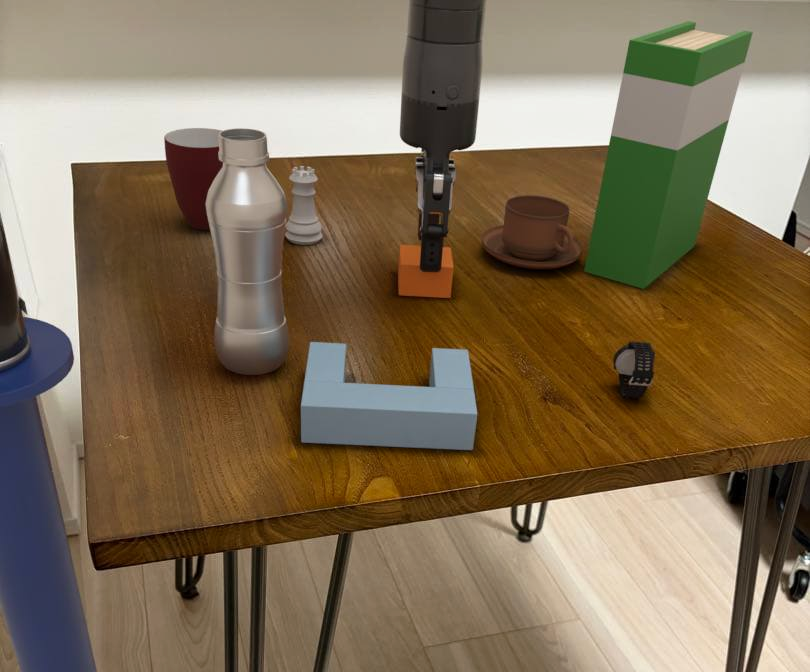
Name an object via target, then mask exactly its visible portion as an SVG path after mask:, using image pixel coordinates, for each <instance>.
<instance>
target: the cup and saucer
mask: <svg viewBox="0 0 810 672" xmlns="http://www.w3.org/2000/svg"><path fill="white" fill-rule="evenodd" d="M570 210H571V209H570V207H569V205H567V204H566V203H564V202H563V201H561V200H559V199H555V198H552V197H548V196H542V195H532V194H531V195H527V194H526V195H517V196H513V197H510V198H508V199H507V200H506V202H505V208H504V217H503V224H502V225H497V226H493V227H490V228H488V229H487V230H485V231H484V232H483V233H482V234H481V245H482V247H483V248H484V249H485V251H486V252H487V254H488V255H490V256H491V257H493V258H494V259H496V260H498V261H499V262H502V263H505V264H508V265H510V266H514V267H518V268H522V269H530V270H553V269H559V268H563V267H566V266H568V265H569V266H570V265H571V264H573V263H575V261H577V260H579V259H580V258H581V256H582V254H583V251H584V245H583V244H582V243H581V241H580V240H579V239H578V238H577V237H575V236H574V235H573V232H572V231H571V229H570V228H569V227H568V222H569V215H570Z"/></svg>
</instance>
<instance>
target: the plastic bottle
mask: <svg viewBox="0 0 810 672" xmlns="http://www.w3.org/2000/svg"><path fill="white" fill-rule="evenodd" d="M218 139H219V152H218V155H219V160H220V161H222V162H223V167H222V168H221V170H220V171H219V173H218V174H217V176H216V177H215V179H214V181H213V183H212V185H211V187H210V189H209V191H208V194H207V199H206V203H205V204H206V212H207V217H208V222H209V227H210V230H209V231H210V236H211V240H212V245H213V253H214V261H215V268H216V278H217V279H216V280H217V300H216V302H217V303H216V306H217V307H216V318H215V324H214V333H213V344H214V348H215V353H216V356H217V359H218V360H219V362H220V363H221V364H222V366H224V368H225V369H226V370H228V371H229V372H232V373H235V374H239V375H246V376H257V375H258V376H259V375H264V374H268V373H272V372H275V371H276V370H277V369H279V368H280V367H281V366H282V365H283V363H284V362H285V361H286V359H287V357H288V354H289V347H290V332H289V327H288V323H287V318H286V316H285V304H284V296H283V284H282V272H283V271H282V266H283V247H284V241H285V240H284V239H285V233H286V227H285V226H286V223H287V216H288V201H287V198H286V194H285V192H284V190H283V188H282V187H281V185H280V183H279V182H278V180H277V179H276V178H275V176H274V175H273V173H272V172H271V171H270V170H269V168H268V167H267V163H268V162H269V161H270V152H269V151H268V150H269V149H268V137H267V134H266V133H265V132H264V131H261V130H259V129H254V128H245V127H244V128H242V127H241V128H240V127H239V128H229V129H224V130H221V132H220V133H219V137H218Z"/></svg>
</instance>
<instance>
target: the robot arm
mask: <svg viewBox="0 0 810 672" xmlns="http://www.w3.org/2000/svg"><path fill="white" fill-rule="evenodd" d="M486 5H487V0H408V8H407V9H408V10H407V27H406V28H407V29H406V30H407V31H406V32H407V33H406V34H407V35H406V41H405V42H406V43H405V49H404V54H403V61H402V79H401V95H400V97H401V99H400V100H401V101H400V115H399V116H400V117H399V119H400V120H399V137H400V139H401V141H402V142H403V143H404V144H406V145H407V146H410V147H412V148H415V149H419V148H420V149H421V150H420V151H421V152H420V156H415V163H414V168H415V169H414V175H415V192H416V193H417V197H416V198H417V199H416V201H417V202H416V211H417V212H418V223H417V224H418V225H417V238H418V240H419V241H420V246H421V253H420V269H421V271H423V272H439V271H440V270H441V264H442V252H443V247H444V240H445V238H447V237H448V235H449V229H450V228H448V227H449V216H450V214H451V211H452V206H453V188H454V185H455V182H456V175H457V174H456V173H457V172H456V171H457V167H456V166H455V159H454V158H450V155H451V153H453V152H455V151H463V150H466V149H468V148H471V147H472V146H473V145H474V143H475V142H476V136H477V126H478V117H479V106H480V94H481V87H482V86H481V85H482V77H483V76H482V74H483V38H484V30H485V29H484V27H485V19H486V18H485V17H486ZM23 313H24V314H26V316H29V315H28V310H27V306H26V301H25V300H24V299H23V298H21V297H20V296H19V291H18V286H17V281H16V278H15V273H14V268H13V264H12V259H11V255H10V250H9V245H8V241H7V236H6V232H5V227H4V223H3V217H2V213H1V212H0V373H1V372H4V371H7V370H9V369H11V368H14V367H16V366H17V365H19V364H20V363H22V362H23V361H24V360H25V359H26V358H27V357H28V356H29V354H30V352H31V345H30V341H29V337H28V335H27V330H26V326H25V323H24V319H23V317H24V314H23Z"/></svg>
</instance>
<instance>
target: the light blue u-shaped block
mask: <svg viewBox="0 0 810 672" xmlns="http://www.w3.org/2000/svg"><path fill="white" fill-rule="evenodd" d="M307 353H308V355H307V360H306V367H305V374H304V381H303V386H302V387H303V388H302V396H301V402H300V442H301V443H302V444H303V443H304V444H305V443H306V444H324V445H325V444H326V445H347V446H367V447H368V446H373V447H391V448H410V449H411V448H414V449H434V450H457V451H473V450H474V444H475V436H476V429H477V421H478V407H477V402H476V395H475V389H474V388H475V387H474V381H473V374H472V367H471V362H470V354H469V349H462V348H461V349H458V348H442V347H441V348H439V347H432V348H431V359H430V368H429V379H428V386H421V385H420V386H418V385H417V386H416V385H396V384H381V383H380V384H378V383H376V384H375V383H358V382H356V383H355V382H346V376H347V375H346V374H347V373H346V372H347V344H346V343H341V342H338V343H337V342H323V341H319V342H318V341H310V342H309V348H308V352H307Z"/></svg>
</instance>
